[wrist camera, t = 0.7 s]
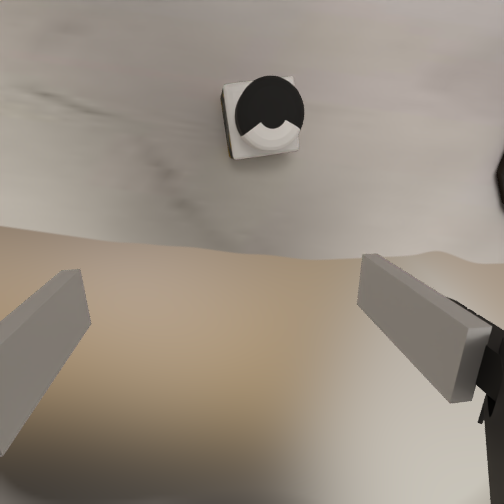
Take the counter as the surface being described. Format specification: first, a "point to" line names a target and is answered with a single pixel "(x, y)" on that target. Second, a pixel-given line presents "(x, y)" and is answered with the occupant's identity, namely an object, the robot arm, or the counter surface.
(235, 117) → the medicine bottle
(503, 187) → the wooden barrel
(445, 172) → the counter surface
